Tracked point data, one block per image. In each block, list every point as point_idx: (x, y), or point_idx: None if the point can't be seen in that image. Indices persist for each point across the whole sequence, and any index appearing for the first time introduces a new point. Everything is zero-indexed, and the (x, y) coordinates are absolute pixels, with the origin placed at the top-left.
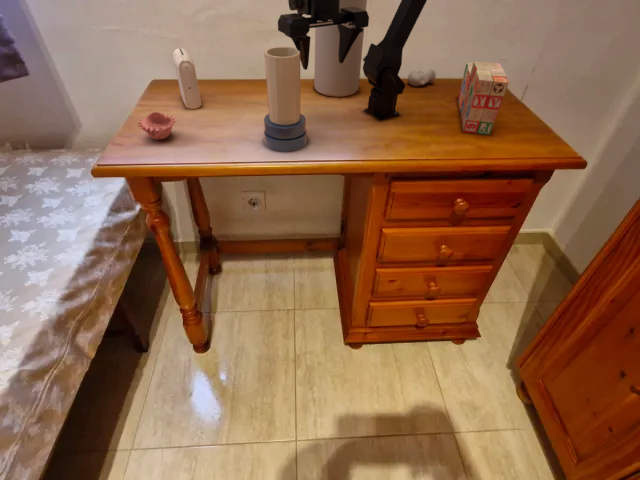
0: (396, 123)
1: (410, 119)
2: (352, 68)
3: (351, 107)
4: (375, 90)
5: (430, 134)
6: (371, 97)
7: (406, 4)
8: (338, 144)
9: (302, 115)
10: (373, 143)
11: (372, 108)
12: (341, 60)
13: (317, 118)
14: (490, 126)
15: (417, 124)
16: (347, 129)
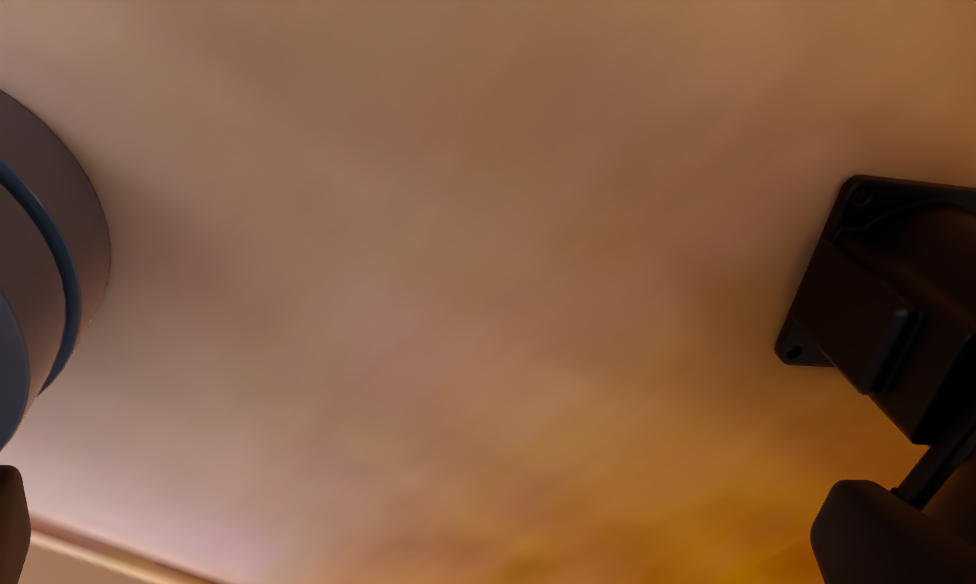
0: (811, 423)
1: None
2: None
3: (854, 40)
4: (954, 382)
5: (805, 578)
6: (885, 342)
7: None
8: (290, 446)
9: (15, 370)
10: (487, 524)
11: (820, 323)
12: (832, 573)
13: (432, 30)
14: None
15: None
16: (495, 328)
